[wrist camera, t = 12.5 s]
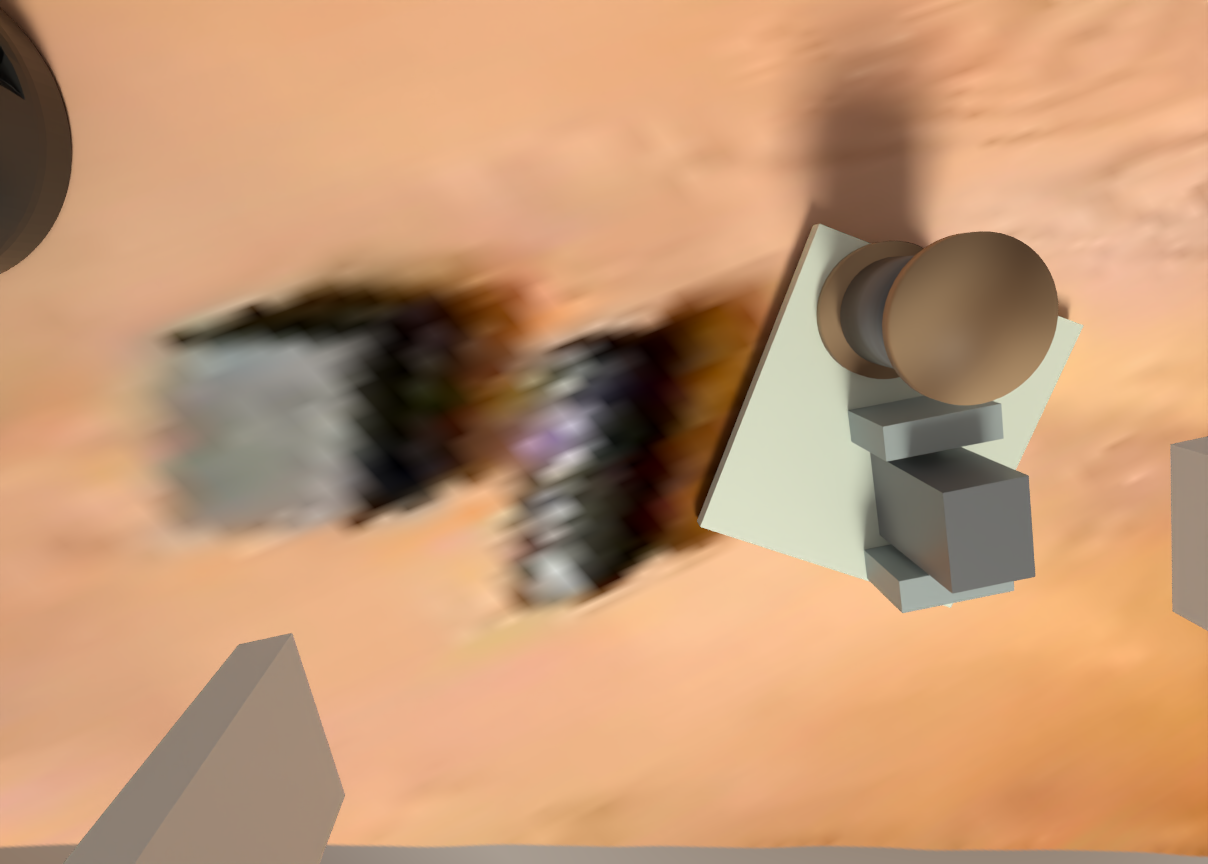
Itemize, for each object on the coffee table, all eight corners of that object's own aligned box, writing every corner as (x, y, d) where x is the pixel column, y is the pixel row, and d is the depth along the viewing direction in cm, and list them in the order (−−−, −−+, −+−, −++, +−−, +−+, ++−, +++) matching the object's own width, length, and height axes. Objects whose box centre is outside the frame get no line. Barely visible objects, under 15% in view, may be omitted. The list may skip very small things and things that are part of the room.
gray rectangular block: (879, 534, 42) (952, 593, 34) (869, 451, 41) (942, 493, 33) (947, 521, 42) (1035, 576, 34) (939, 437, 41) (1028, 475, 33)
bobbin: (796, 352, 40) (863, 373, 31) (848, 221, 38) (933, 205, 30) (914, 394, 41) (1012, 427, 32) (969, 268, 39) (1087, 266, 31)
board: (697, 521, 42) (700, 526, 41) (813, 225, 39) (819, 223, 38) (942, 600, 44) (951, 607, 43) (1070, 324, 41) (1083, 325, 40)
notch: (867, 578, 43) (902, 612, 38) (847, 410, 41) (882, 426, 36) (967, 558, 43) (1014, 590, 38) (953, 389, 41) (1001, 403, 36)
